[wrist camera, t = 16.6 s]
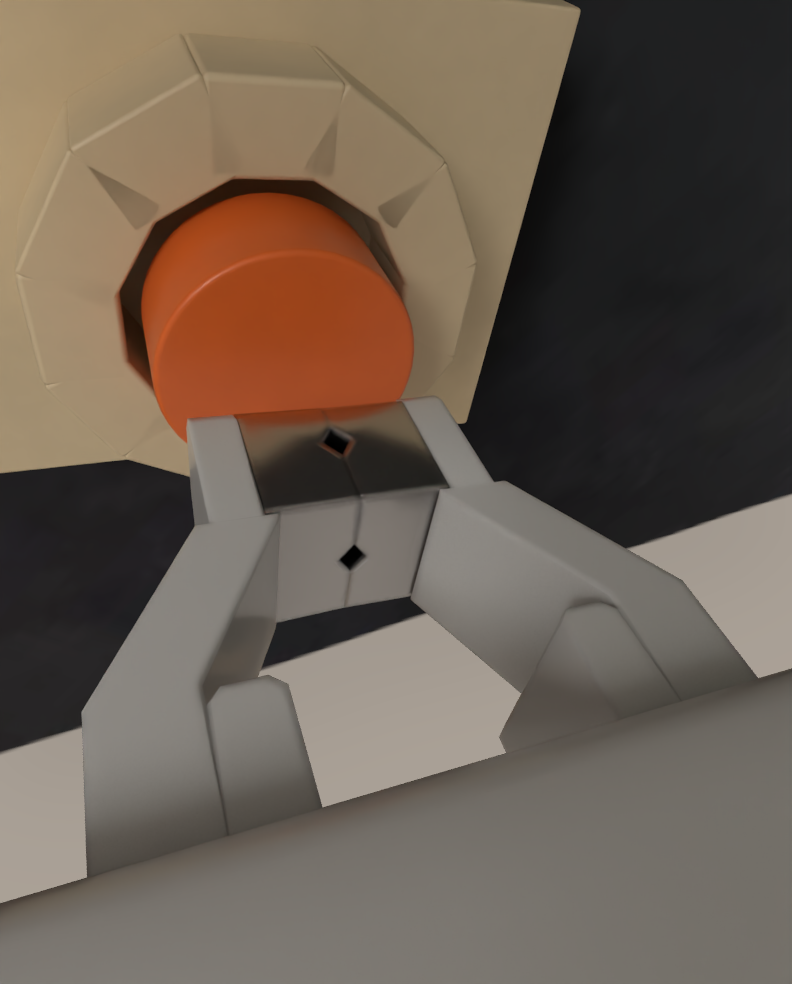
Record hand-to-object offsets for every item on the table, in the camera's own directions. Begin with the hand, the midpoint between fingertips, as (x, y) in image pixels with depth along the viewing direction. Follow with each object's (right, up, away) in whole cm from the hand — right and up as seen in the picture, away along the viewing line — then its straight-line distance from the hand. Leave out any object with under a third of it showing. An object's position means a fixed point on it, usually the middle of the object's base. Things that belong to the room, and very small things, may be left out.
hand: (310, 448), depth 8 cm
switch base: (-2, +5, +4) cm, 7 cm away
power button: (-1, +2, +2) cm, 3 cm away
